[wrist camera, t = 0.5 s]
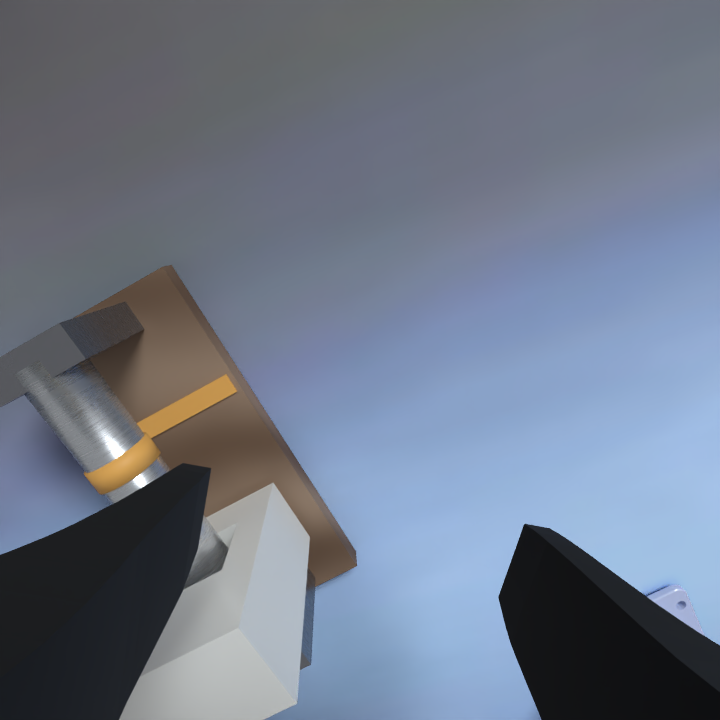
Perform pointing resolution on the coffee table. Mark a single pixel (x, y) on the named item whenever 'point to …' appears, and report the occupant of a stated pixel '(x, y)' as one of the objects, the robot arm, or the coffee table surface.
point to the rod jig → (168, 416)
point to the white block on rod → (234, 624)
